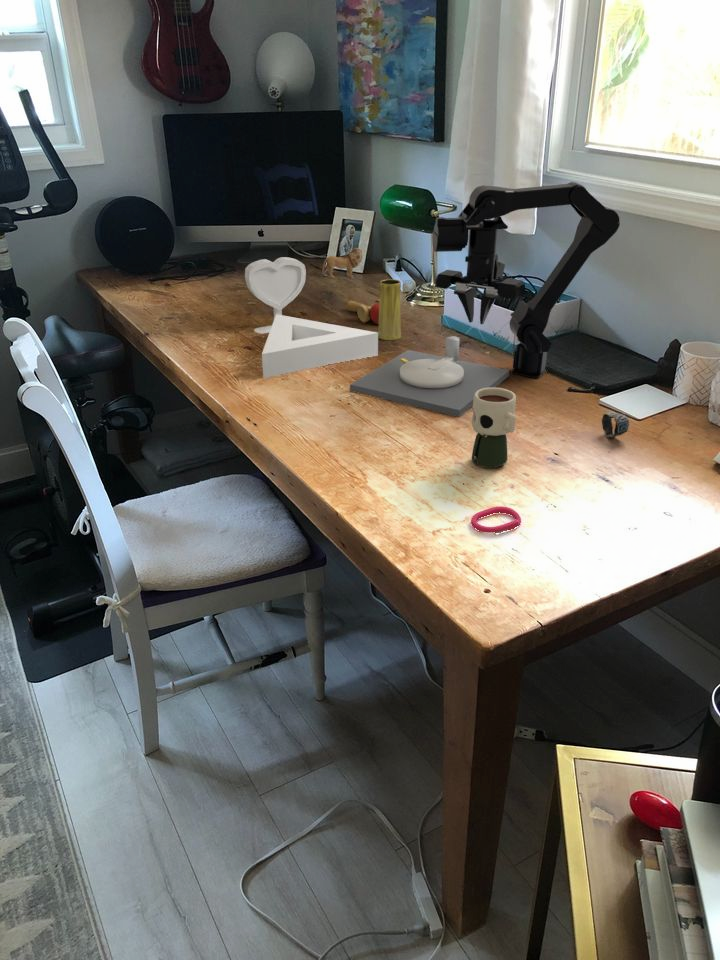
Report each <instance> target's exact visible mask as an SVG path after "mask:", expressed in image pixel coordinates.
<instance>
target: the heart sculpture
mask: <svg viewBox="0 0 720 960" xmlns="http://www.w3.org/2000/svg"><path fill="white" fill-rule="evenodd" d="M306 275H307V271H306V266H305V264H304V263H303V262H302V261H300V260H298V259H296V258H292V257H288V256H287V257H286V256H285V257H284V256H283V257H282V256H281V257H278V258H277V259H275V260H274V261H271V260H268V259H266V258H264V259H258V260H256V261H253V262H251V263H249V264H248V265H247V266H246V267H245V269H244V279H245V283H246V287H247V288H248V290H249V291H250V292H251V294H252V295H253V296H254V297H256V298H257V299H259V301H262V302H263V303H264V304H265V305H268V306H269V307H271V308H273V320H274V319H275V316H276V314H278V315H283V312H282V311H283V309H284V308H285V307H286V306H287V305H289V304H290V303H292V302H293V301H294V300H295V298H296V297H298V295H300V293H301V292H302V289H303V288H304V286H305V283H306V277H307V276H306ZM271 327H272V324H271V325H266V326H260V327H256V328H254V330H253V331H254V332H255V333H257V334H262V335H263V334H269V333H270V330H271Z"/></svg>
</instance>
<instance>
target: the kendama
mask: <svg viewBox="0 0 720 960" xmlns="http://www.w3.org/2000/svg"><path fill="white" fill-rule="evenodd" d="M346 309H347V310H348V311H349V312H356V313H357V317H358V319H359V320H360V321H361V322H362V323H367V322H369V321H370V320H372V322H373V323H375V325H379V299H376V300H375V301H374V303H373V304H371V305H370V306H368V305H366V304H363V303H359V302H358V301H354V300H349V301H348V302H347V303H346Z"/></svg>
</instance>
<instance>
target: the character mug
mask: <svg viewBox="0 0 720 960" xmlns="http://www.w3.org/2000/svg"><path fill="white" fill-rule="evenodd" d="M516 401H517V397H516V393H514V392H513V391H511V390H508V389H506V388H502V387H495V388H482V389H480V390H477V391H476V392H475V394H474V398H473V406H472V416H471V424H472V425H471V426H472V428H473V430H474V431H475V432H476V435H475V440H474V443H473V447H472V454H471V457H470V458H471V460H472V463H475V459H477V462H476V464H477V466H479V467H483V468H487V469H488V468H489V469H491V468H492V469H494V468H497V467H500V466H502V465H504V464H506V463H507V462H508V438H507V435H508V434H511V433H514V431H515V429H516V415H515V414H516V413H515V412H516V404H517V403H516Z"/></svg>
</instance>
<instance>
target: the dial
mask: <svg viewBox="0 0 720 960" xmlns="http://www.w3.org/2000/svg"><path fill="white" fill-rule="evenodd" d="M459 353H460V337H459V336H453V335H451V336H447V337H446V339H445V353H444V354H445V355H444V356H442V357H443V358H442V359H419V360H414V361H410V362H407V363H405V364H403V365H402V366H401V367H400V378H401V380H402V381H404V382H405V383H407V384H409V385H412V386H416V387H421V388H446V387H451V386H454V385H457V384H459V383H460V382H462V380H463V378H464V369H463V368H462V367H461V366H460V365H458V364H456V363H454V362H455V361H458V360H459V356H460V355H459Z"/></svg>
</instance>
